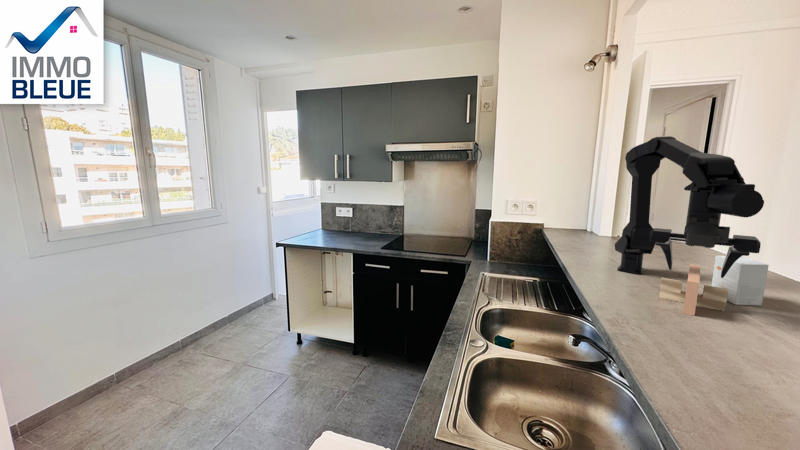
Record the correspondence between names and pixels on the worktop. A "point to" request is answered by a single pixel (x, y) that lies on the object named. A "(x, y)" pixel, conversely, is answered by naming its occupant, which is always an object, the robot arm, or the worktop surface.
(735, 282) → the small box
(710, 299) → the birch notched block
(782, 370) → the worktop surface
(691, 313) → the terracotta plate
